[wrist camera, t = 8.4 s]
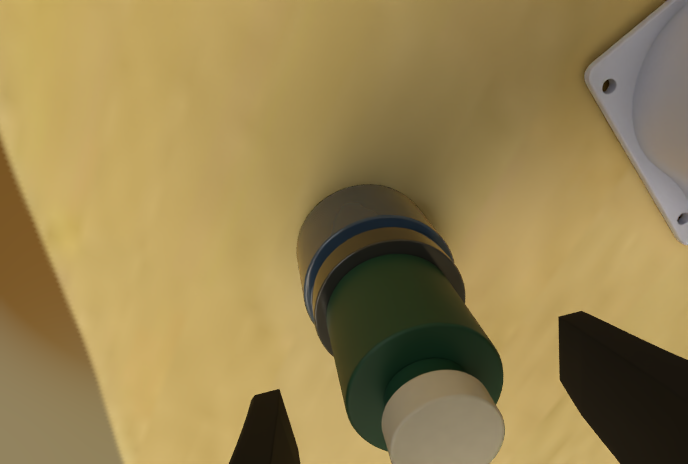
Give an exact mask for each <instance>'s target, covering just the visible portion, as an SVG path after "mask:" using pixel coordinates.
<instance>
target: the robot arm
mask: <svg viewBox="0 0 688 464" xmlns="http://www.w3.org/2000/svg"><path fill="white" fill-rule="evenodd" d="M584 80H585V83H586V85H587V87H588V89H589V90H590V92H591V94H592V96H593V97H594V99H595V101H596V102H597V104H598V106H599V108H600V109H601V111H602V113H603V114H604V116H605V118H606V120H607V121H608V123H609V125H610V126H611V128H612V130H613V132H614V133H615V135H616V137H617V138H618V140H619V142H620V144H621V145H622V147H623V149H624V150H625V152H626V154H627V156H628V157H629V159H630V161H631V162H632V164H633V166H634V168H635V169H636V171H637V173H638V174H639V176H640V178H641V180H642V181H643V183H644V185H645V187H646V188H647V190H648V192H649V193H650V195H651V197H652V199H653V200H654V202H655V204H656V205H657V207H658V209H659V211H660V212H661V214H662V216H663V217H664V219H665V221H666V223H667V224H668V226H669V228H670V229H671V231H672V233H673V235H674V236H675V238H676V239H677V240H678V241H679V242H680V243H682V244H684V245H688V0H667V1H666V2H664V3H663V4H662V5H661V6H660V7H658V8H657V9H656V10H655V11H654V12H652V13H651V14H650V15H649V16H648V17H646V18H645V19H644V20H643V21H641V22H640V23H639V24H638V25H637V26H635V27H634V28H633V29H632V30H631V31H629V32H628V33H627V34H626V35H625V36H623V37H622V38H621V39H620V40H619V41H617V42H616V43H615V44H614V45H612V46H611V47H610V48H609V49H608V50H606V51H605V52H604V53H603V54H602V55H600V56H599V57H598V58H597V59H596V60H594V61H593V62H592V63H591V64H590V65H589V66H588V67H587V69H586V71H585V74H584ZM606 80H609V87H608V88H607V90H606V91H604V92H603V90H602V87H603V84H604V82H605V81H606ZM681 214H682V216H681V218H680V219H679V220H678V217H679V216H680V215H681ZM559 365H560V381H561V383H562V384H563V386H564V388H565V389H566V391H567V393H568V394H569V396H570V398H571V399H572V401H573V402H574V404H575V406H576V407H577V409H578V410H579V412H580V413H581V415H582V416H583V418H584V419H585V420H586V421H587V423H588V424H589V425H590V426H591V428H592V429H593V430H594V431H595V433H596V434H597V435H598V436H599V438H600V439H601V440H602V442H603V443H604V444H605V445H606V446H607V448H608V449H609V450H610V451H611V453H612V454H613V455H614V456H615V458H616V459H617V460H618V461H619V462H620V464H688V360H686V359H684V358H682V357H679V356H677V355H675V354H672V353H670V352H668V351H666V350H663V349H661V348H659V347H657V346H655V345H653V344H650V343H648V342H646V341H644V340H642V339H640V338H638V337H636V336H633V335H631V334H629V333H627V332H625V331H623V330H621V329H619V328H617V327H615V326H613V325H611V324H609V323H607V322H604V321H602V320H600V319H598V318H596V317H594V316H592V315H590V314H587V313H585V312H583V311H579V312H576V313H572V314H568V315H564V316H560V317H559ZM229 464H300V458H299V452H298V447H297V444H296V441H295V438H294V434H293V431H292V428H291V425H290V422H289V418H288V415H287V412H286V409H285V406H284V403H283V399H282V396H281V393H280V390H279V389H277V390H273V391H269V392H266V393H262V394H258V395H255V396H254V397H253V399H252V400H251V404H250V407H249V410H248V414H247V417H246V420H245V423H244V426H243V429H242V431H241V434H240V437H239V440H238V442H237V445H236V447H235V450H234V452H233V455H232V457H231V460H230V462H229Z"/></svg>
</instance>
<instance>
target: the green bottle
mask: <svg viewBox="0 0 688 464" xmlns="http://www.w3.org/2000/svg"><path fill="white" fill-rule="evenodd" d="M326 322H327V328H328V333H329V337H330V342H331V346H332V351H333V355H334V359H335V364H336V368H337V373H338V377H339V381H340V386H341V390H342V395H343V399H344V404H345V408H346V412H347V415H348V418H349V421H350V422H351V424H352V426H353V428H354V429H355V430H356V432H357V433H358V434H359V435H360V436H361V437H362V438H363V439H364V440H366V441H367V442H369V443H370V444H372V445H373V446H375V447H377V448H380V449H382V450H385V451H388V452H389V456H390V459H391V462H392V464H489V463H490V462H491V461H492V460H493V459H494V458H495V456H496V455H497V453H498V452H499V450H500V448H501V446H502V443H503V440H504V435H505V425H504V420H503V417H502V415H501V413H500V411H499V409H498V408H497V406H496V404H497V401H498V399H499V397H500V394H501V391H502V385H503V367H502V362H501V359H500V356H499V354H498V352H497V350H496V348H495V347H494V345H493V344H492V342H491V341H490V339H489V338H488V337H487V335H486V334H485V332H484V331H483V329H482V328H481V327H480V325H479V324H478V322H477V321H476V319H475V318H474V317H473V315H472V314H471V312H470V311H469V309H468V308H467V307H466V305H465V304H464V302H463V301H462V299H461V298H460V297H459V295H458V294H457V292H456V291H455V289H454V288H453V287H452V285H451V284H450V282H449V281H448V279H447V278H446V277H445V275H444V274H443V273H442V271H441V270H439V269H438V268H437V267H436V266H435V265H433V264H432V263H431V262H429V261H427V260H425V259H423V258H420V257H417V256H413V255H408V254H387V255H382V256H378V257H375V258H372V259H369V260H367V261H365V262H363V263H361V264H359V265H358V266H356V267H355V268H353V269H352V270H351V271H349V272H348V273H347V274H346V275H345V276H344V277H343V278H342V279H341V281H340V282H339V283H338V284H337V286H336V288H335V289H334V291H333V293H332V295H331V297H330V300H329V303H328V306H327V312H326Z"/></svg>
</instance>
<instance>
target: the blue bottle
mask: <svg viewBox="0 0 688 464" xmlns="http://www.w3.org/2000/svg"><path fill="white" fill-rule="evenodd" d="M387 254H408V255H413V256H417V257H420V258H423V259H425V260H427V261H429V262H431V263H432V264H433V265H435V266H436V267H437V268H438V269H439V270H441V271H442V273H443V274H444V275H445V277H446V278H447V279H448V281H449V282H450V284H451V285H452V287H453V288H454V289H455V291H456V292H457V294H458V295H459V297H460V298H461V299H462V301H463V302H464V304H465V288H464V283H463V280H462V276H461V274H460V272H459V270H458V268H457V267H456V265H455V264H454V259H453V256H452V253H451V251H450V249H449V247H448V245H447V244H446V242H445V241H444V240H443V238H442V237H441V236H440V234H439V233H438V232H437V231H436V229H435V228H434V227H433V226H432V224H431V223H430V222H429V221H428V219H427V218H426V217H425V216H424V214H423V213H422V212H421V211H420V209H419V208H418V207H417V206H416V205H415V204H414V203H413V202H412V200H411V199H409V198H408V197H407V196H405V195H404V194H402V193H400V192H398V191H397V190H394V189H391V188H389V187H385V186H381V185H371V184H370V185H357V186H352V187H348V188H345V189H342V190H340V191H337V192H335V193H333V194H332V195H330V196H328V197H327V198H325V199H324V200H323V201H321V202H320V203H319V204H318V205H317V206H316V207H315V208H314V209H313V210H312V211H311V213H310V214H309V215H308V217H307V218H306V220H305V222H304V223H303V225H302V228H301V230H300V233H299V237H298V241H297V260H298V266H299V272H300V278H301V284H302V290H303V296H304V302H305V306H306V309H307V312H308V315H309V317H310V319H311V321H312V322H313V323H314V325H315V328H316V331H317V334H318V336H319V338H320V340H321V342H322V344H323V345H324V347H325V348H326V350H327V351H328V352H329V353H330V354H331V355H332V356H333V357H334V355H333V351H332V346H331V342H330V337H329V333H328V328H327V322H326V312H327V306H328V303H329V300H330V297H331V295H332V293H333V291H334V289H335V288H336V286H337V284H338V283H339V282H340V281H341V279H342V278H343V277H344V276H345V275H346V274H347V273H348V272H349V271H351V270H352V269H353V268H355V267H356V266H358V265H359V264H361V263H363V262H365V261H367V260H369V259H372V258H375V257H378V256H382V255H387Z"/></svg>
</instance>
